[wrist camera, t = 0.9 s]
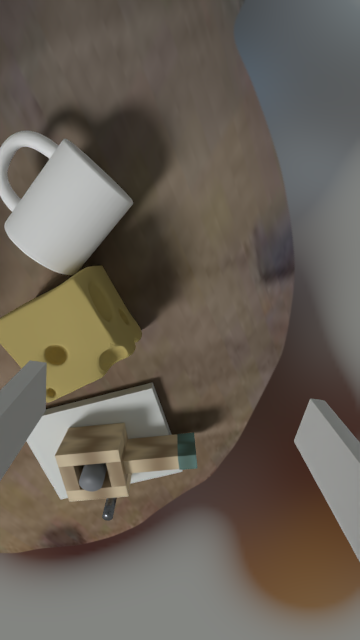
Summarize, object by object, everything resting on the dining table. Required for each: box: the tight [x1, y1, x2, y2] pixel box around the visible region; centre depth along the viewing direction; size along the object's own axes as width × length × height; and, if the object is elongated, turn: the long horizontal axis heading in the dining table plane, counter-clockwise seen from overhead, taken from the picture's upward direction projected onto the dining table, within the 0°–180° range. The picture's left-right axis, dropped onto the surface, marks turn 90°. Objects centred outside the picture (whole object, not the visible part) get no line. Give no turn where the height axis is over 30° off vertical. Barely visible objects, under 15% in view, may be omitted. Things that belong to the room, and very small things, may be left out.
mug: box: [0, 131, 133, 275], centre depth 28 cm, size 12×10×8 cm
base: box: [26, 382, 182, 499], centre depth 40 cm, size 20×16×8 cm
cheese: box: [0, 265, 142, 402], centre depth 32 cm, size 10×11×10 cm
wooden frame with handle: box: [55, 423, 197, 502], centre depth 39 cm, size 18×8×5 cm, turn 96°
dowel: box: [102, 497, 117, 520], centre depth 42 cm, size 1×1×6 cm
